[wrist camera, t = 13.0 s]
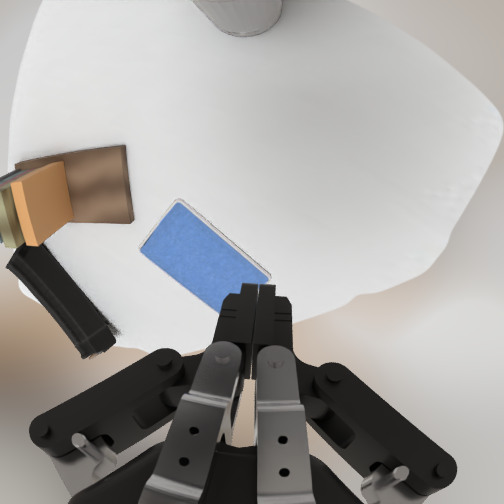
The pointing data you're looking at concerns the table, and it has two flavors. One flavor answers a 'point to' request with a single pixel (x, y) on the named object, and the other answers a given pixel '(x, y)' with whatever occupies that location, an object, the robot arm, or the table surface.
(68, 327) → the magazine
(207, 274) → the blue flat slab
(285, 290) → the table surface
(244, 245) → the table surface
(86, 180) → the book row
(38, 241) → the loose bookend
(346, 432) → the robot arm
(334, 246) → the table surface
